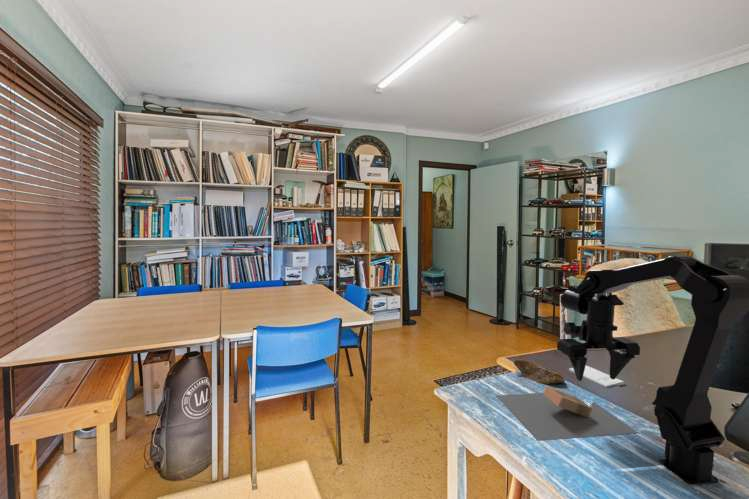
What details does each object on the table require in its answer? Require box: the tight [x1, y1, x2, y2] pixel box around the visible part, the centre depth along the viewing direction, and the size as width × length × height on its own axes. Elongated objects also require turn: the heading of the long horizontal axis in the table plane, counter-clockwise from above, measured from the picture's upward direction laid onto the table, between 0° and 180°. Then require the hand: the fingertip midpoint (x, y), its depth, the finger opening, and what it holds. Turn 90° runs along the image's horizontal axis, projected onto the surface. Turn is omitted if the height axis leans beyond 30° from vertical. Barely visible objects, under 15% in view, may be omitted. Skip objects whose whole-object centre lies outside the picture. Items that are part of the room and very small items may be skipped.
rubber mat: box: [494, 392, 639, 442], centre depth 90 cm, size 20×25×1 cm
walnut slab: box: [542, 385, 592, 418], centre depth 89 cm, size 6×2×9 cm
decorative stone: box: [513, 358, 566, 385], centre depth 110 cm, size 10×4×15 cm
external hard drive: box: [568, 364, 625, 388], centre depth 111 cm, size 2×8×12 cm
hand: (595, 379), depth 90 cm, fingers open, 9 cm apart
